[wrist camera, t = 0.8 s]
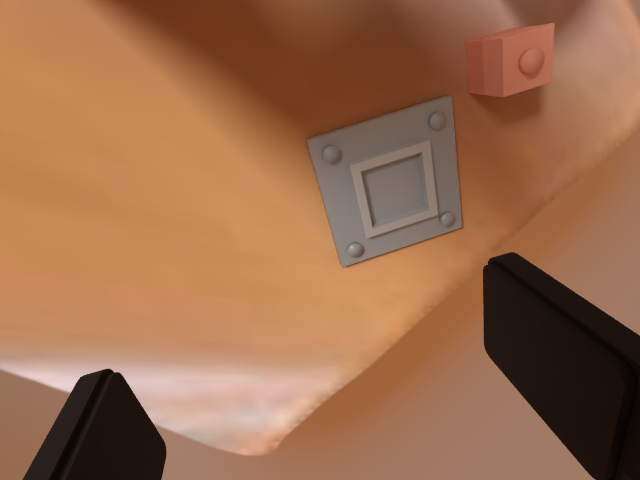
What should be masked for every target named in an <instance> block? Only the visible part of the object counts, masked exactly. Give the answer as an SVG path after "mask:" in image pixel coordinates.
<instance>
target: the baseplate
mask: <svg viewBox="0 0 640 480" xmlns="http://www.w3.org/2000/svg"><path fill="white" fill-rule="evenodd" d="M306 142H307V145H308V149H309V153H310V156H311V160H312V163H313V167H314V171H315V174H316V178H317V182H318V185H319V189H320V192H321V196H322V200H323V203H324V207H325V211H326V214H327V218H328V221H329V225H330V229H331V232H332V236H333V240H334V243H335V247H336V250H337V254H338V258H339V261H340V264H341V266H342V267H345V266H348V265H351V264H354V263H357V262H360V261H363V260H366V259H369V258H372V257H375V256H378V255H381V254H384V253H387V252H390V251H393V250H396V249H399V248H402V247H405V246H408V245H411V244H414V243H417V242H420V241H423V240H426V239H429V238H432V237H435V236H438V235H441V234H444V233H447V232H450V231H453V230H456V229H459V228H462V217H461V204H460V192H459V180H458V167H457V155H456V142H455V130H454V118H453V105H452V96H450V95H446V96H442V97H439V98H436V99H433V100H430V101H426V102H423V103H420V104H417V105H413V106H410V107H407V108H404V109H401V110H397V111H394V112H391V113H388V114H385V115H381V116H378V117H375V118H372V119H368V120H365V121H362V122H359V123H356V124H352V125H349V126H346V127H343V128H340V129H336V130H333V131H330V132H327V133H324V134H320V135H317V136H314V137H311V138H307V139H306Z"/></svg>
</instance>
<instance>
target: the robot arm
mask: <svg viewBox="0 0 640 480" xmlns="http://www.w3.org/2000/svg"><path fill="white" fill-rule="evenodd" d="M483 298H484V299H483V300H484V301H483V304H484V346H485V349H486V352H487V354H488V355H489V357H490V358H491V359H492V361H493V362H494V363H495V364H496V365H497V366H498V368H499V369H500V370H501V371H502V372H503V374H504V375H505V376H506V377H507V378H508V379H509V381H510V382H511V383H512V384H513V385H514V386H515V388H516V389H517V390H518V391H519V392H520V393H521V395H522V396H523V397H524V398H525V399H526V400H527V402H528V403H529V404H530V405H531V406H532V408H533V409H534V410H535V411H536V412H537V413H538V415H539V416H540V417H541V418H542V419H543V420H544V422H545V423H546V424H547V425H548V426H549V427H550V429H551V430H552V431H553V432H554V433H555V434H556V436H557V437H558V438H559V439H560V440H561V442H562V443H563V444H564V445H565V446H566V447H567V449H568V450H569V451H570V452H571V453H572V455H573V456H574V457H575V458H576V459H577V460H578V462H579V463H580V464H581V465H582V466H583V467H584V469H585V470H586V471H587V472H588V473H589V474H590V475H591V476H592V477H593V478H594V479H596V480H640V336H639V335H638V334H636V333H635V332H633V331H632V330H630V329H629V328H627V327H626V326H624V325H623V324H621V323H620V322H618V321H617V320H615V319H614V318H612V317H611V316H609V315H608V314H606V313H605V312H603V311H602V310H600V309H599V308H597V307H596V306H594V305H593V304H591V303H590V302H588V301H587V300H585V299H584V298H582V297H581V296H579V295H578V294H576V293H575V292H573V291H572V290H570V289H569V288H567V287H566V286H564V285H563V284H561V283H560V282H558V281H557V280H555V279H554V278H552V277H551V276H550V275H548V274H546V273H545V272H543V271H542V270H541V269H539V268H538V267H536V266H535V265H533V264H531V263H530V262H529V261H527V260H526V259H524V258H523V257H521V256H520V255H518V254H516V253H514V252H511V253H507V254H503V255H500V256H497V257H493V258H491V259H489V261H488V265H486V266H484V269H483ZM165 460H166V446H165V442H164V440H163V439H162V437H161V436H160V434H159V432H158V431H157V429H156V428H155V426H154V424H153V423H152V421H151V420H150V418H149V417H148V415H147V413H146V412H145V410H144V409H143V407H142V406H141V404H140V402H139V401H138V399H137V398H136V396H135V395H134V393H133V391H132V390H131V388H130V387H129V385H128V384H127V382H126V380H125V379H124V377H123V376H122V375H121V374H120V373H119V372H116V373H114V372H113V371H112V370H111V369H104V370H101V371H97V372H94V373H90V374H87V375H84V376H82V377H80V379H79V380H78V381H77V383H76V385H75V387H74V388H73V390H72V392H71V394H70V396H69V397H68V399H67V401H66V403H65V405H64V407H63V408H62V410H61V412H60V414H59V415H58V417H57V419H56V421H55V423H54V425H53V426H52V428H51V430H50V431H49V433H48V435H47V437H46V439H45V441H44V442H43V444H42V446H41V448H40V449H39V451H38V453H37V455H36V457H35V459H34V460H33V462H32V464H31V466H30V467H29V469H28V471H27V473H26V475H25V476H24V478H23V480H161V478H162V474H163V469H164V464H165Z"/></svg>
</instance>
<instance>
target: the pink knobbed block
mask: <svg viewBox="0 0 640 480" xmlns="http://www.w3.org/2000/svg"><path fill="white" fill-rule="evenodd" d="M553 45H554V23H549V24H542V25H535V26H528V27H520V28H513V29H508V30H505V31H502V32H499V33H495V34H492V35H489V36H485V37H482V38H479V39H475V40H472V41H469V42H466V60H467V77H468V93H471V94H480V95H488V96H497V97H506V96H509V95H512V94H516V93H519V92H522V91H525V90H528V89H531V88H535V87H538V86H541V85H544V84H547V83H551V82H552V69H553Z"/></svg>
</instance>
